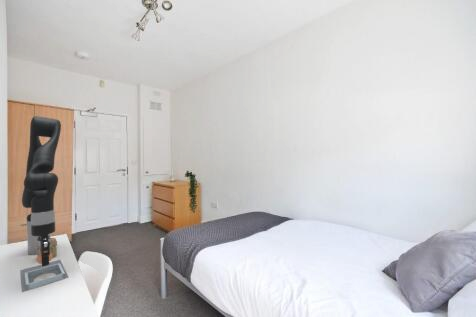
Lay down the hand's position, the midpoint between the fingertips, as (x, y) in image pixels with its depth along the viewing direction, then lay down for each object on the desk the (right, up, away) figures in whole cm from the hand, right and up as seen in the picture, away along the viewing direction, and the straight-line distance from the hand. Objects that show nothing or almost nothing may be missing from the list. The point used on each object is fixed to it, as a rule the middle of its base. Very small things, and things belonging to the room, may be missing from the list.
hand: (44, 263), depth 94 cm
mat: (-4, -7, +4) cm, 8 cm away
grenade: (-15, -7, +20) cm, 26 cm away
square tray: (0, -6, 0) cm, 6 cm away
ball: (0, 0, 0) cm, 0 cm away
